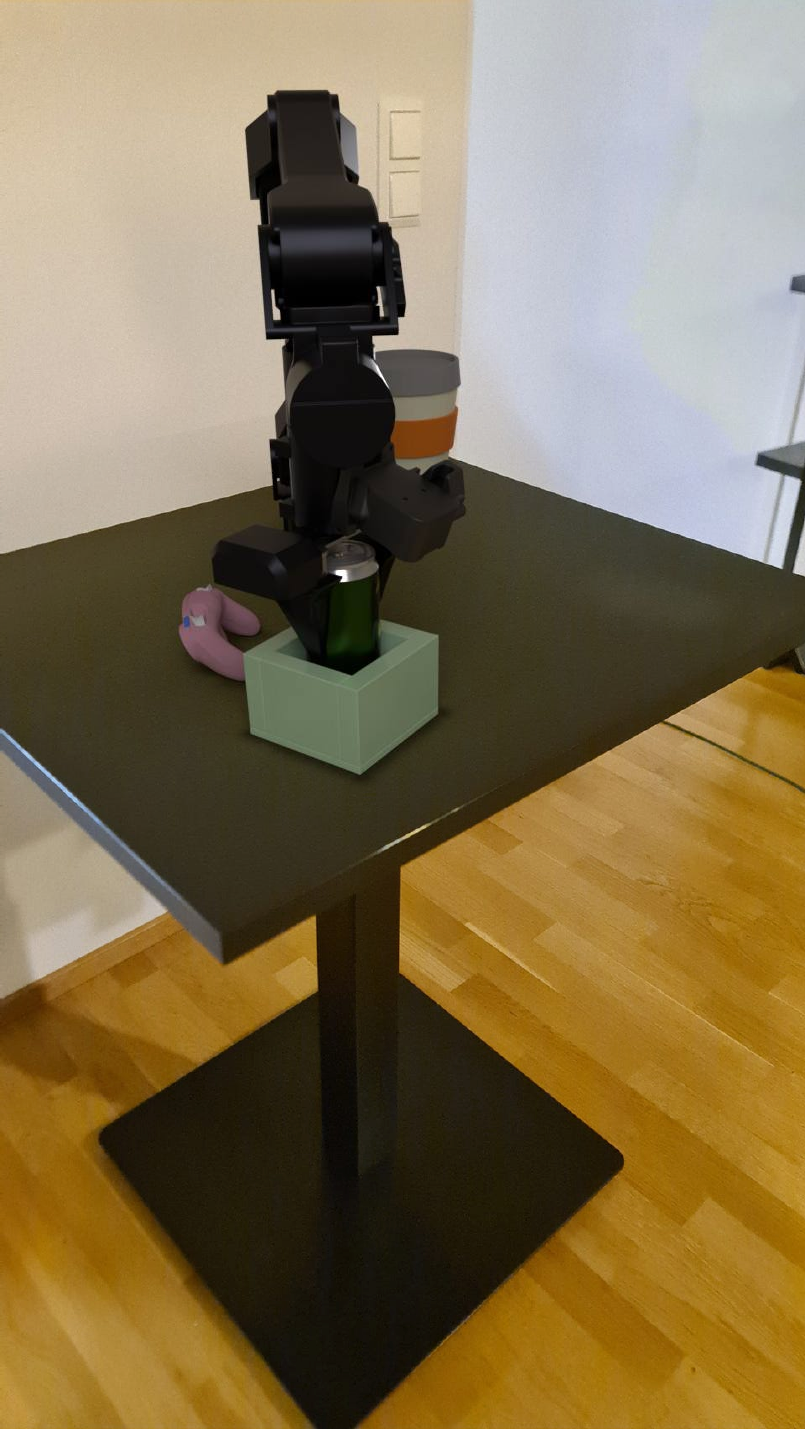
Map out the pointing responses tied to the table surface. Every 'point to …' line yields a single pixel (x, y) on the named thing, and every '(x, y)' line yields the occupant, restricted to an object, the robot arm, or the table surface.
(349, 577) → the beer can
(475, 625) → the table surface
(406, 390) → the reusable coffee cup
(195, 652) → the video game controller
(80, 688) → the table surface
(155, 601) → the table surface
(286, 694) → the holder
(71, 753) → the table surface
